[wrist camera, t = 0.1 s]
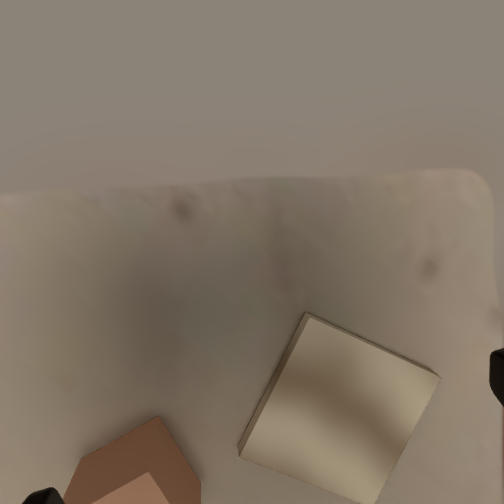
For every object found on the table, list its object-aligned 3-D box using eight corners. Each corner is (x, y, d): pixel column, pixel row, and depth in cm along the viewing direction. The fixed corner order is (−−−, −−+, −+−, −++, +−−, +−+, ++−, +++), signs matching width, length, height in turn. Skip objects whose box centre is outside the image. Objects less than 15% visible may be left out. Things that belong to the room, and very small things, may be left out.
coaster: (365, 496, 26) (372, 507, 26) (237, 446, 25) (239, 457, 24) (432, 370, 26) (441, 377, 25) (305, 312, 24) (309, 317, 23)
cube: (200, 482, 25) (201, 552, 20) (126, 524, 25) (108, 605, 20) (158, 415, 24) (148, 471, 19) (80, 458, 24) (50, 526, 19)
